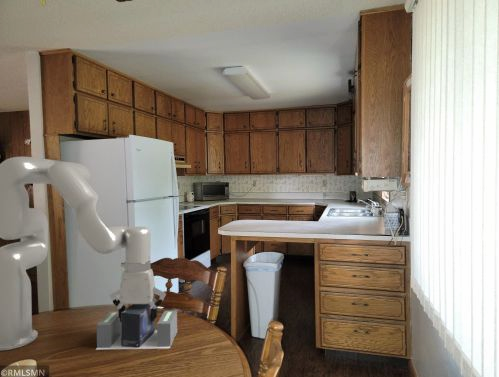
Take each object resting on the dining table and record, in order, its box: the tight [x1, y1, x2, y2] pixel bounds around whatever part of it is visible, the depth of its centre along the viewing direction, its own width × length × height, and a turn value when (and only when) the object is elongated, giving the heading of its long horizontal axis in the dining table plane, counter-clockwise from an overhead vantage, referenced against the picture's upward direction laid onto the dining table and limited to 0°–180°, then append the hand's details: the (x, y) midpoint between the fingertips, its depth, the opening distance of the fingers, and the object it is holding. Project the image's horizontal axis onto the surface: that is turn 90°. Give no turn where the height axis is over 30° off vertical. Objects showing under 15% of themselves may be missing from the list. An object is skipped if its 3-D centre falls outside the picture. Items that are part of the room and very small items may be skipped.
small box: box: [121, 304, 156, 347], centre depth 102 cm, size 11×6×10 cm, turn 171°
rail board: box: [95, 329, 178, 351], centre depth 103 cm, size 22×12×2 cm, turn 91°
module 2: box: [156, 310, 178, 348], centre depth 103 cm, size 4×10×7 cm, turn 1°
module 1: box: [96, 310, 122, 348], centre depth 102 cm, size 4×10×7 cm, turn 1°
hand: (138, 319), depth 102 cm, fingers open, 9 cm apart
